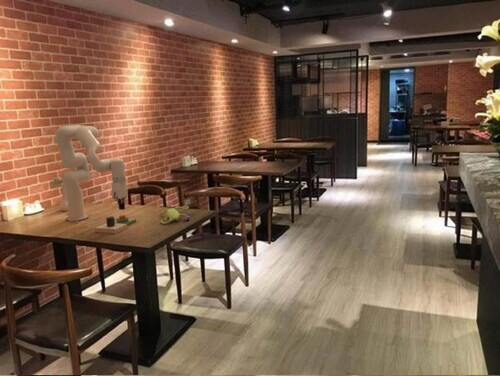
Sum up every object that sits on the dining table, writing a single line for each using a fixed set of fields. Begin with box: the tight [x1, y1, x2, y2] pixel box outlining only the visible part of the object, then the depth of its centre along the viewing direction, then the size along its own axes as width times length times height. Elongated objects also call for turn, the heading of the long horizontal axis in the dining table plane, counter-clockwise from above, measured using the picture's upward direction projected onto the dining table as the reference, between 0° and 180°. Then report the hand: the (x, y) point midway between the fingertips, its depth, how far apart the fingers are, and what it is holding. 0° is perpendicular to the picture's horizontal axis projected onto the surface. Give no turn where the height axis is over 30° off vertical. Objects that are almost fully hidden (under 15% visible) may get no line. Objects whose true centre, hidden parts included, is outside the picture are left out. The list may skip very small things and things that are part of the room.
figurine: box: [160, 205, 191, 225], centre depth 267 cm, size 18×27×6 cm
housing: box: [114, 216, 137, 227], centre depth 259 cm, size 12×10×4 cm
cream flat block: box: [94, 222, 128, 234], centre depth 246 cm, size 14×11×3 cm
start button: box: [118, 214, 127, 219], centre depth 259 cm, size 4×4×2 cm
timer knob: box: [105, 215, 115, 227], centre depth 245 cm, size 4×4×5 cm
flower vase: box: [49, 175, 69, 212], centre depth 299 cm, size 13×18×25 cm
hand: (122, 209), depth 258 cm, fingers closed
